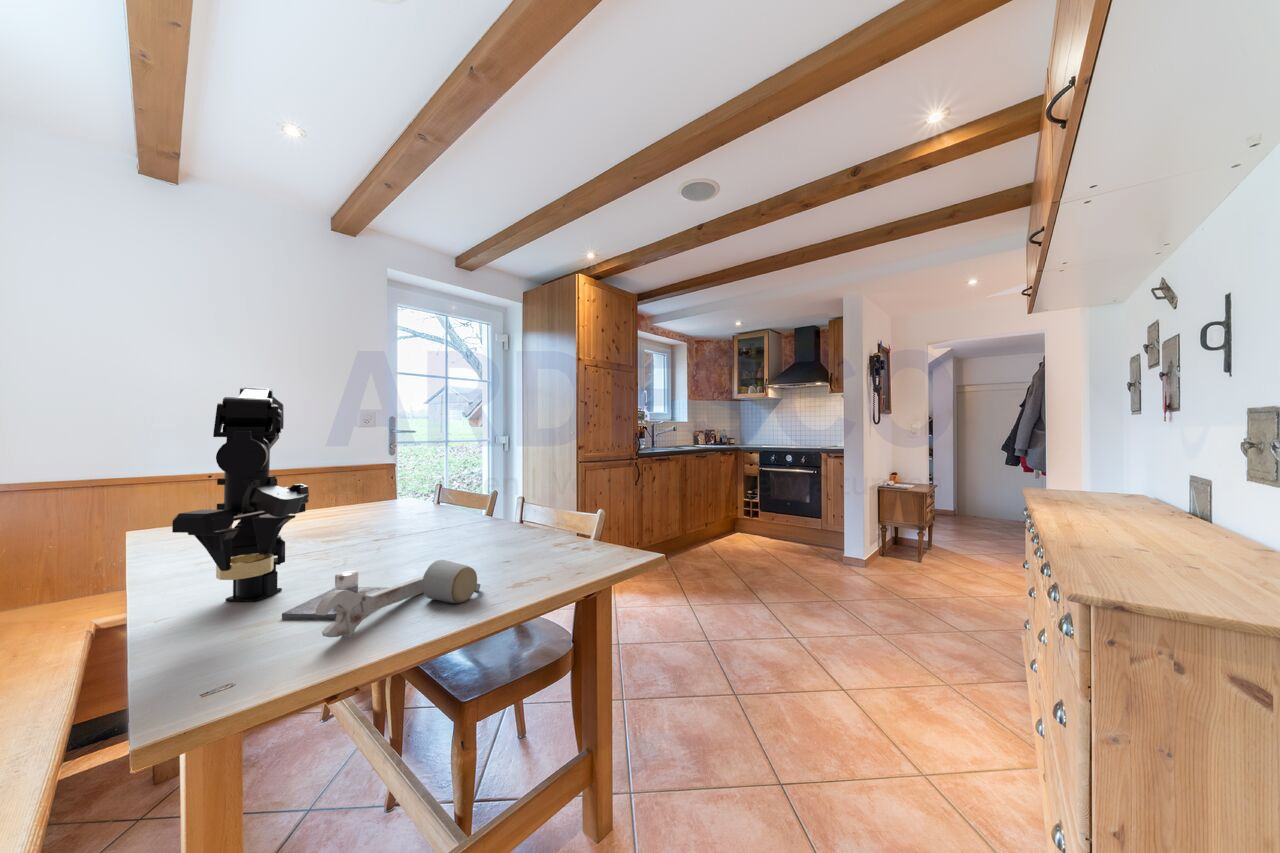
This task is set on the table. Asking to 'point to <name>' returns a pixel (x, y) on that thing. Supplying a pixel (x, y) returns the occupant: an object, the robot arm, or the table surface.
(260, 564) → the ring
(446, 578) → the ceramic mug
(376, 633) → the table surface
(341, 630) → the wrench
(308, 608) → the piston stand
